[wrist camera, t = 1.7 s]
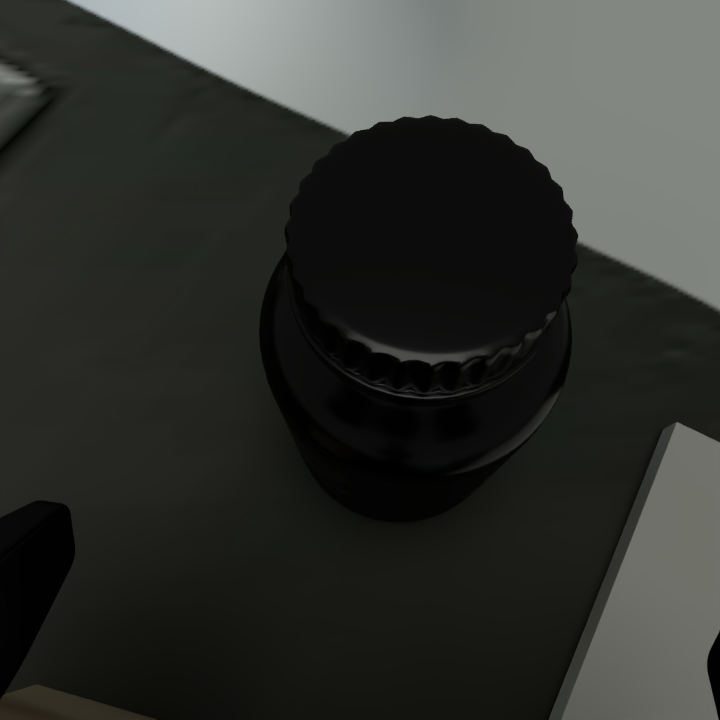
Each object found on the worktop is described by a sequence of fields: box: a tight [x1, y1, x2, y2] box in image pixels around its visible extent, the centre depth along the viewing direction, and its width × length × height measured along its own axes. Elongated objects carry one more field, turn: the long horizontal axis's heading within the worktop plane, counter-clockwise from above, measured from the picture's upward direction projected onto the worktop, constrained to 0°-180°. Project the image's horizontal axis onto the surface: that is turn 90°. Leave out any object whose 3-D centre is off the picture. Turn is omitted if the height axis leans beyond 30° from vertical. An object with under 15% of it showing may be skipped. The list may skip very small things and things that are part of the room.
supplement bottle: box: [259, 115, 578, 522], centre depth 15 cm, size 7×7×12 cm
